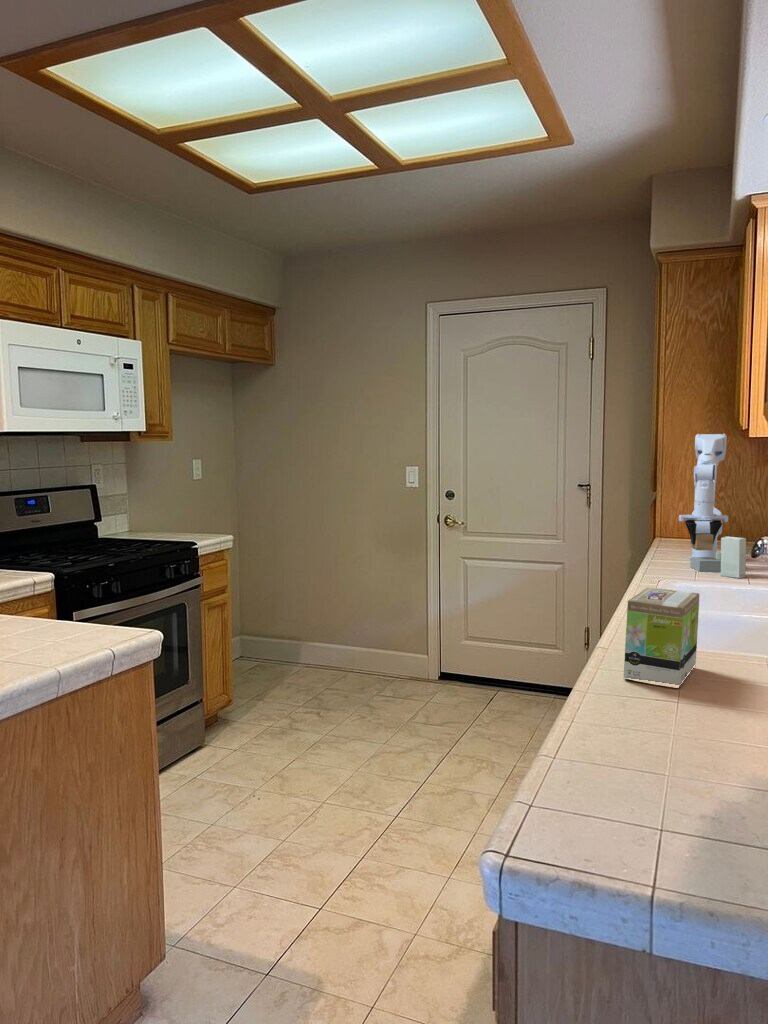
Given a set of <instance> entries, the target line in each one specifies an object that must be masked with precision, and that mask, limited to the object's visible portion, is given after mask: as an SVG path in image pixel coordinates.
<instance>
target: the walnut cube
mask: <svg viewBox="0 0 768 1024" xmlns="http://www.w3.org/2000/svg"><path fill="white" fill-rule="evenodd" d="M692 548H693V549H695V550H713V535H712V534H710V533H695V544H692V543H691V549H692Z"/></svg>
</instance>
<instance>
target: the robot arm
mask: <svg viewBox="0 0 768 1024" xmlns="http://www.w3.org/2000/svg"><path fill="white" fill-rule="evenodd" d="M727 439H728V438H727V434H726V433H723V434H722V433H716V434H715V433H712V434H710V433H708V434H707V433H706V434H704V433H703V434H702V433H697V434H696V435H695V439H694V451H695V457H696V460H697V462H696V465H694V467H693V483H694V484H693V486H694V501H693V502H694V505H693V510H692V512H691V514H679V516H678V521H679V522H684V524H685V527H686V529H687V531H688V534H689V538H690V543H691V545H692V544H695V533H710V534H712V535H713V550H695V549H693V548H692V547H691V556H688V559H689V560H691V557H713V558H716V552H718V536H720V535H722V533H723V522H724V523H728V522H729V515H725V514H722V511H720V510H719V509H718V508H716V507H715V501H716V482H717V474H718V473H717V472H718V471H717V470H718V466H719V463H720V462H721V461H724V460H725V457H726V453H727V443H728V442H727Z"/></svg>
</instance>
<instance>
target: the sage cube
mask: <svg viewBox="0 0 768 1024" xmlns="http://www.w3.org/2000/svg"><path fill="white" fill-rule="evenodd" d="M716 559H719V560H721V551H717V552H716Z"/></svg>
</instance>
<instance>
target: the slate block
mask: <svg viewBox="0 0 768 1024" xmlns="http://www.w3.org/2000/svg"><path fill="white" fill-rule="evenodd" d="M690 557H691V559H690V562H689V563H690V566H689V567H690V568H692V569H694V570H693V571H695V570H697V571H699V572H713V573H721V560H719V559H716V558H713V557H692V556H690ZM690 568H689V569H690ZM692 569H691V570H692ZM697 571H696V572H697ZM699 572H698V573H699Z"/></svg>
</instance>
